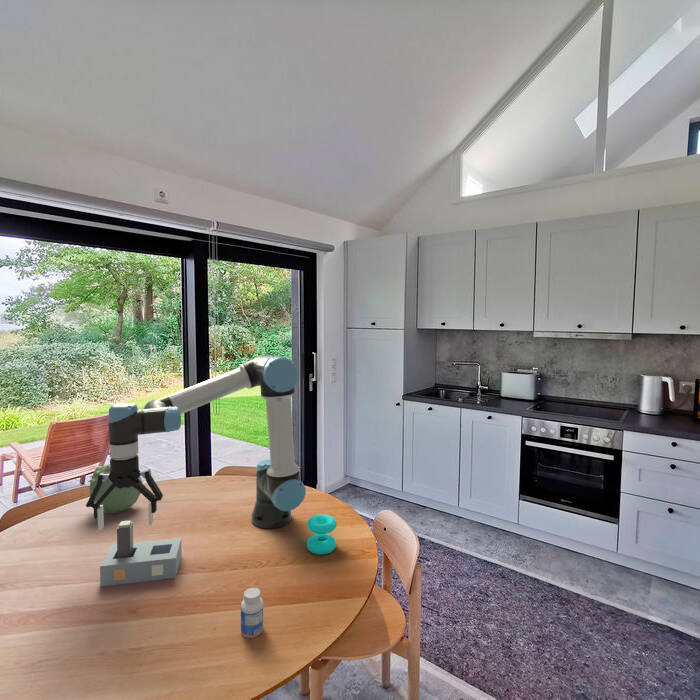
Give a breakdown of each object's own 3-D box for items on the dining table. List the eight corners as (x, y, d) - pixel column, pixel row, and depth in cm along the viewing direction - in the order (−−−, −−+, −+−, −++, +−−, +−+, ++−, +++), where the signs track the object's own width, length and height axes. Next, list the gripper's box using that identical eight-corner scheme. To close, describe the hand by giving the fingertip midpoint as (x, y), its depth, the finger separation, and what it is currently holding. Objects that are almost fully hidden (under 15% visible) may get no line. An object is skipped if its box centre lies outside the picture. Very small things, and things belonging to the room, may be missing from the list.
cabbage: (150, 509, 169) (150, 460, 168) (99, 526, 154) (98, 473, 153) (132, 499, 179) (132, 452, 178) (82, 514, 164) (82, 463, 163)
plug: (133, 563, 128) (133, 519, 128) (130, 570, 125) (130, 525, 124) (120, 565, 128) (120, 520, 127) (117, 571, 124) (116, 526, 123)
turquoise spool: (301, 519, 142) (322, 510, 149) (300, 548, 142) (322, 537, 150) (321, 529, 135) (342, 519, 142) (320, 559, 136) (342, 548, 143)
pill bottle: (242, 623, 106) (243, 585, 105) (264, 622, 106) (264, 585, 106) (238, 639, 101) (239, 599, 100) (261, 638, 101) (262, 599, 100)
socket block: (181, 556, 136) (181, 538, 136) (175, 578, 124) (175, 558, 124) (112, 563, 131) (112, 544, 131) (100, 587, 119) (99, 566, 119)
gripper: (171, 449, 131) (173, 515, 132) (81, 455, 125) (83, 524, 126) (167, 456, 124) (169, 526, 125) (71, 463, 118) (74, 537, 119)
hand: (126, 525), depth 126 cm, fingers open, 13 cm apart
